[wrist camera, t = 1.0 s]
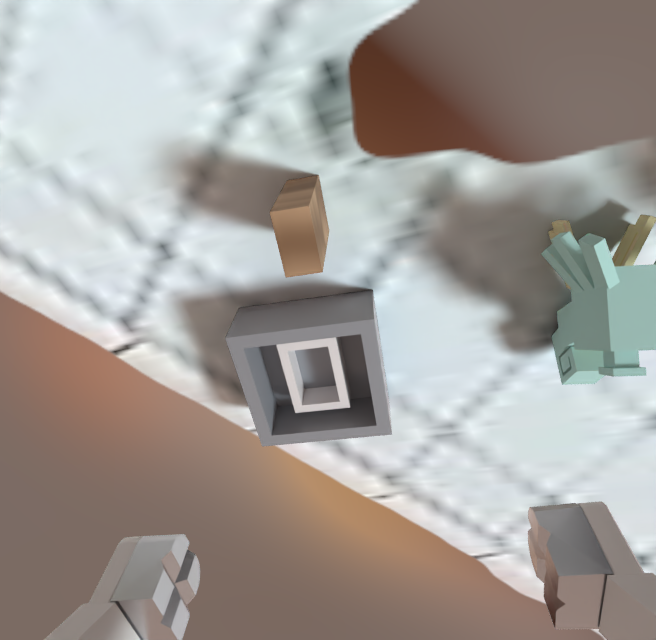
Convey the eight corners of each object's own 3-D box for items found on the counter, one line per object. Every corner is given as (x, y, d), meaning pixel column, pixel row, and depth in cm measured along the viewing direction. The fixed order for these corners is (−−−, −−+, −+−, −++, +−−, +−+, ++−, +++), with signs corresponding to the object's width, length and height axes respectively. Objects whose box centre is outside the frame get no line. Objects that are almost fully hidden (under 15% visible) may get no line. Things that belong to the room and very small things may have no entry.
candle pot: (238, 308, 42) (225, 338, 38) (372, 289, 40) (374, 319, 36) (271, 410, 48) (262, 446, 44) (388, 398, 46) (391, 434, 42)
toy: (535, 378, 43) (559, 427, 29) (529, 230, 42) (551, 204, 28) (667, 378, 40) (767, 432, 26) (664, 217, 39) (766, 181, 25)
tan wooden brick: (286, 180, 36) (269, 212, 29) (318, 175, 36) (308, 205, 29) (299, 235, 38) (285, 277, 31) (329, 231, 38) (322, 272, 31)
